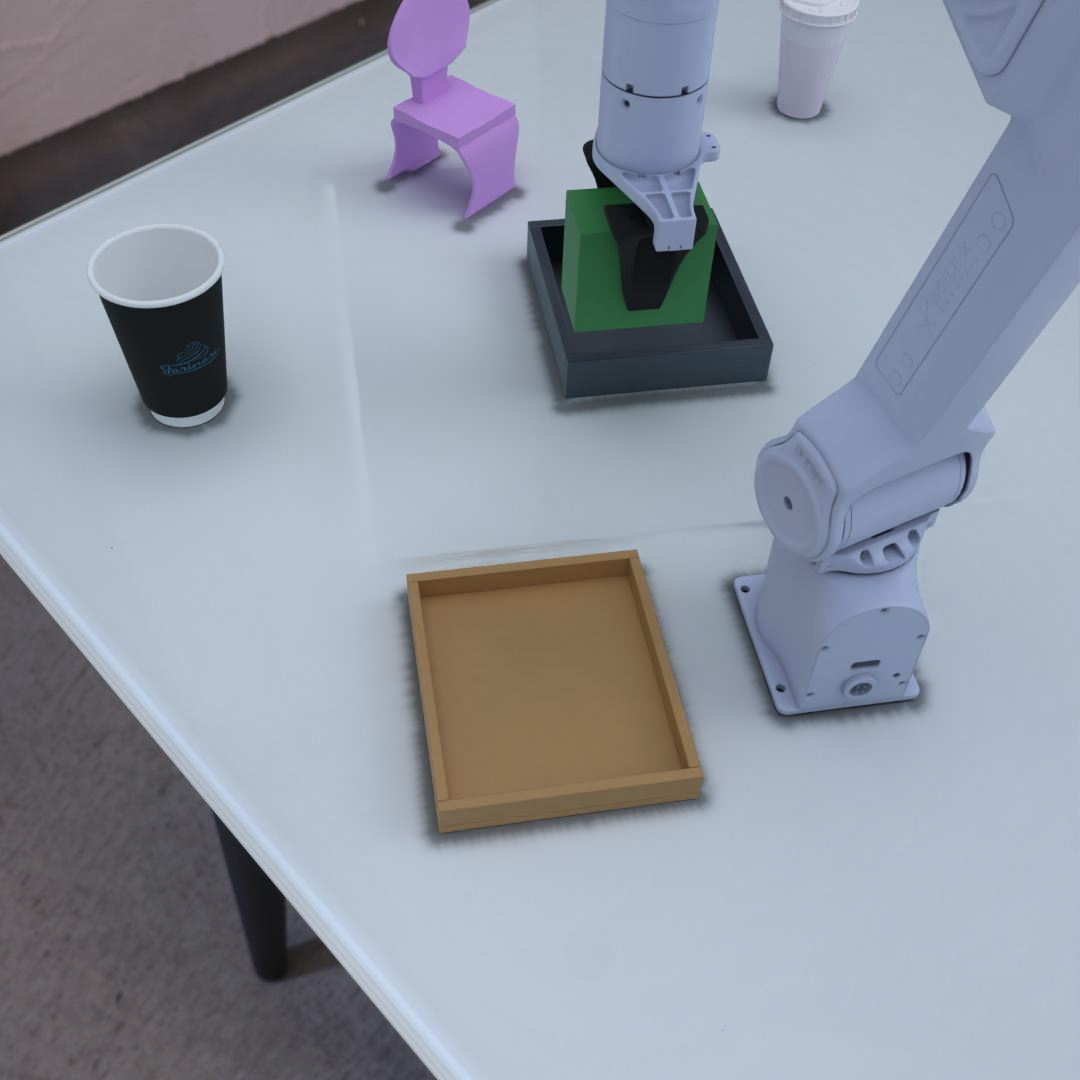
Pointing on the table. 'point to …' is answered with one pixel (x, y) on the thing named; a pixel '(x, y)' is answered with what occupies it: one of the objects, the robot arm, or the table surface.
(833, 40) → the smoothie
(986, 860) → the table surface
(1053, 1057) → the table surface
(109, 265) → the dixie cup
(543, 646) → the tray
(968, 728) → the table surface
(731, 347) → the dark grey tray
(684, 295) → the green rectangular block
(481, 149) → the toy chair
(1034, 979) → the table surface
